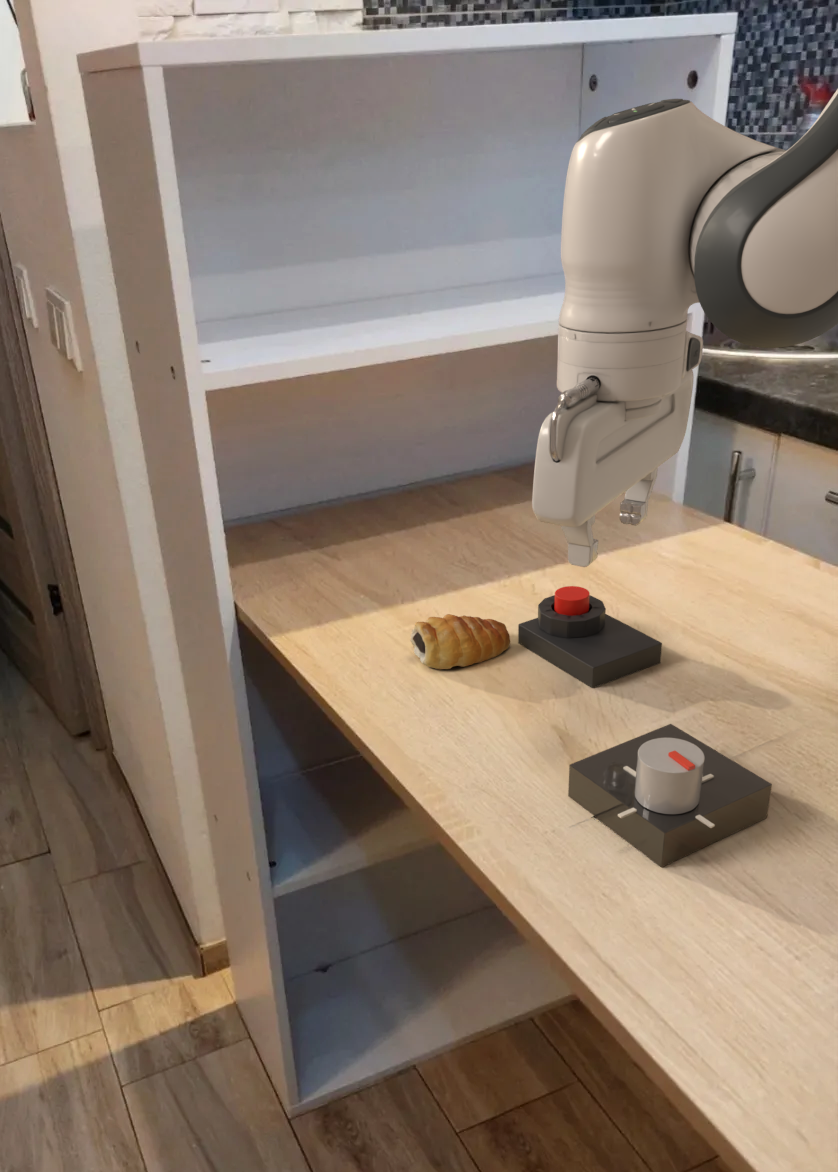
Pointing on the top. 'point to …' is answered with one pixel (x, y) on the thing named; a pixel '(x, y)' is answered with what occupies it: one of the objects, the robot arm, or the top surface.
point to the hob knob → (669, 775)
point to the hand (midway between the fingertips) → (608, 541)
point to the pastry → (458, 640)
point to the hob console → (666, 838)
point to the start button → (571, 600)
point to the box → (588, 643)
